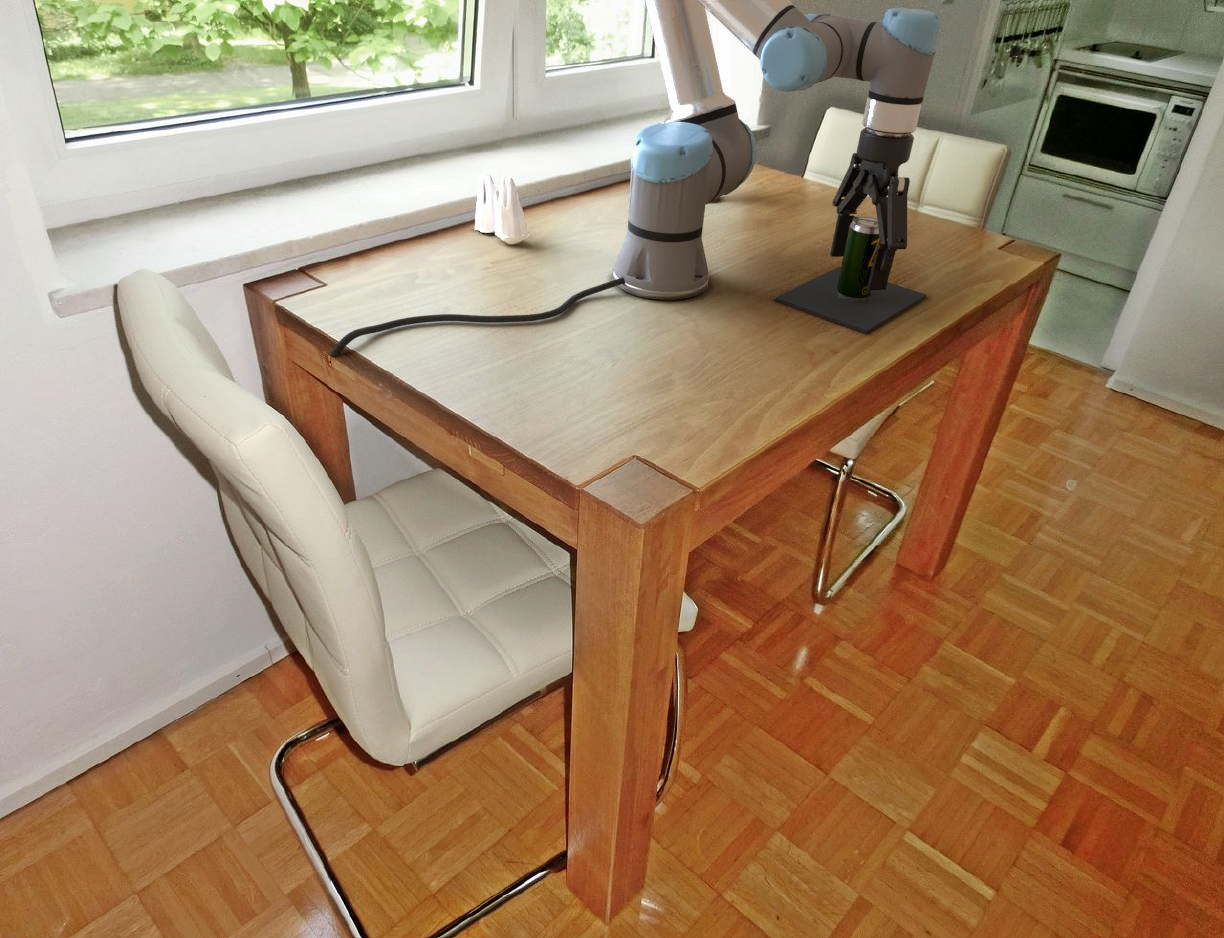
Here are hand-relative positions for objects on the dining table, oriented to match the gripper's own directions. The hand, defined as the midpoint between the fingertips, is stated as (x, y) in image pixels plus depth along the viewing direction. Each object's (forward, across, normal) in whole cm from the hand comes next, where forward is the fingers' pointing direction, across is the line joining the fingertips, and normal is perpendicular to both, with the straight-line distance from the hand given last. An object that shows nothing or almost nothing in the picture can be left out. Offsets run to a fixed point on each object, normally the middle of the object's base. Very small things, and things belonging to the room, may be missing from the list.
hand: (856, 272), depth 140 cm
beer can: (+4, 0, 0) cm, 4 cm away
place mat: (+4, 0, 0) cm, 5 cm away
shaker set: (+5, +31, +52) cm, 61 cm away
